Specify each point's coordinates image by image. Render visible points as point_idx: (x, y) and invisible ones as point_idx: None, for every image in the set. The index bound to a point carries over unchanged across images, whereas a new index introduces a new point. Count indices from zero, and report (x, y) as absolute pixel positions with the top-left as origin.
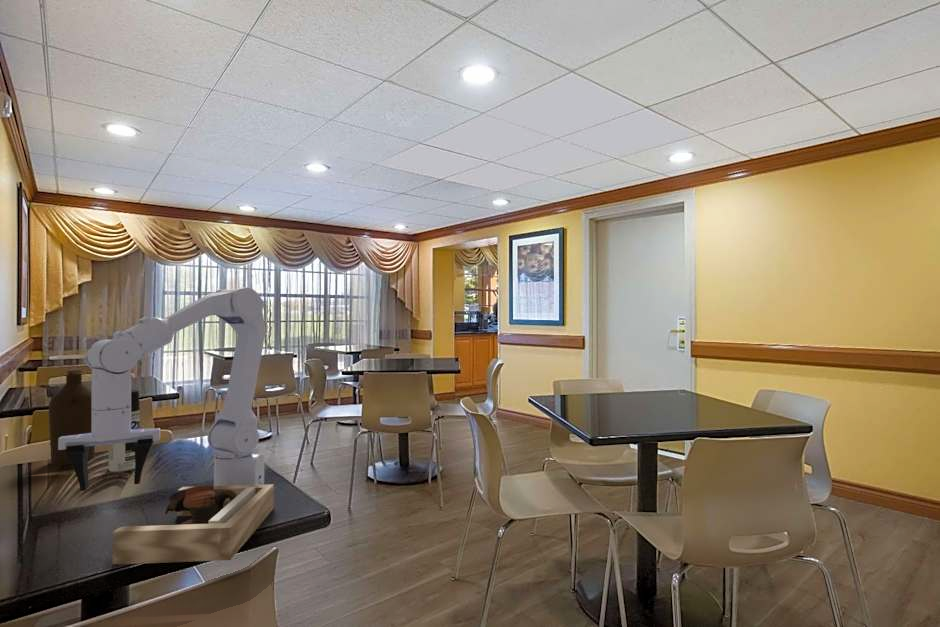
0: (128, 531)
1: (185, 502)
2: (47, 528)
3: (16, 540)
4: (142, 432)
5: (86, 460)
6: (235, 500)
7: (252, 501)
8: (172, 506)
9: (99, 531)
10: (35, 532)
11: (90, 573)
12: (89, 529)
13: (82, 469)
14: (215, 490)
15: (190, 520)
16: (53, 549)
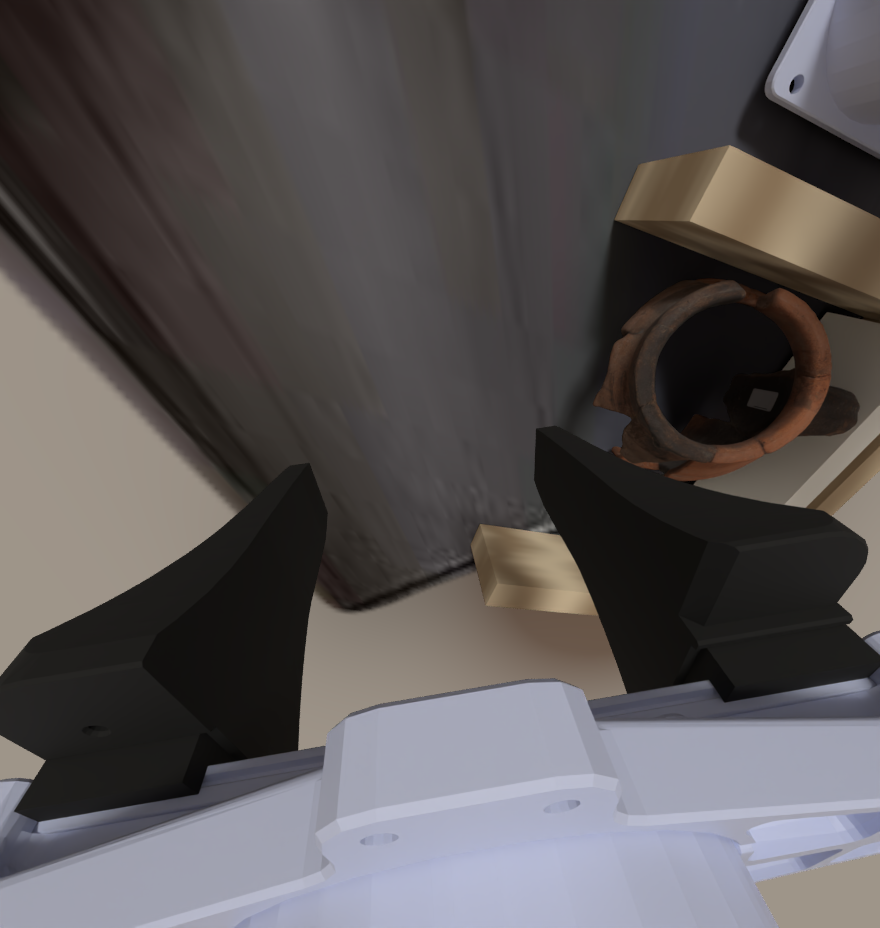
0: (520, 608)
1: (676, 478)
2: (68, 156)
3: (54, 293)
4: (810, 856)
5: (263, 603)
6: (812, 486)
7: (847, 489)
8: (630, 459)
9: (351, 302)
10: (53, 205)
11: (438, 566)
12: (298, 259)
13: (303, 629)
14: (833, 281)
15: (653, 468)
16: (277, 426)
